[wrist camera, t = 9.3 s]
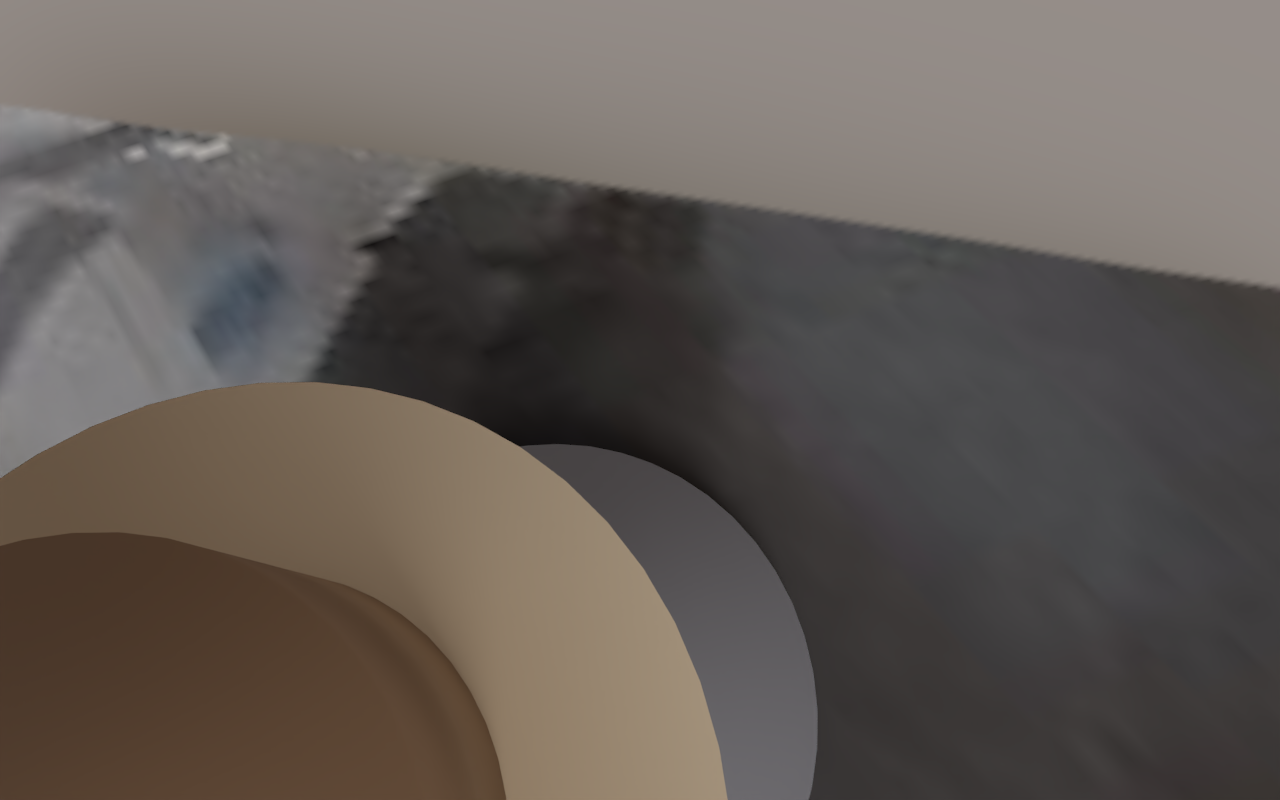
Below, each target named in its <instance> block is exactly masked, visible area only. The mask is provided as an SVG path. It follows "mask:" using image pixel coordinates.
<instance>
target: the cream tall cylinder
mask: <svg viewBox="0 0 1280 800" xmlns="http://www.w3.org/2000/svg"><path fill="white" fill-rule="evenodd" d="M0 800H728V799H727V793H726V787H725V780H724V774H723V768H722V762H721V755H720V749H719V745H718V742H717V738H716V735H715V731H714V728H713V724H712V721H711V717H710V714H709V710H708V707H707V703H706V700H705V696H704V693H703V689H702V686H701V682H700V680H699V677H698V675H697V673H696V670H695V668H694V666H693V663H692V661H691V659H690V656H689V654H688V652H687V649H686V647H685V645H684V642H683V640H682V638H681V635H680V633H679V631H678V628H677V626H676V623H675V621H674V620H673V618H672V616H671V615H670V613H669V611H668V610H667V608H666V606H665V604H664V603H663V601H662V599H661V598H660V596H659V594H658V592H657V591H656V589H655V587H654V586H653V584H652V582H651V580H650V579H649V577H648V575H647V574H646V572H645V570H644V569H643V567H642V566H641V565H640V563H639V562H638V561H637V560H636V558H635V557H634V556H633V554H632V553H631V552H630V551H629V549H628V548H627V547H626V545H625V544H624V543H623V542H622V540H621V539H620V538H619V536H618V535H617V534H616V532H615V531H614V530H613V529H612V527H611V526H610V525H609V523H608V522H607V521H606V520H605V519H604V518H603V517H602V516H601V515H600V514H599V513H598V512H597V511H596V510H595V509H594V508H593V507H592V506H591V505H590V504H589V503H588V502H587V501H586V500H585V499H584V498H583V497H582V496H581V495H580V494H579V493H577V492H576V491H575V490H574V489H573V488H572V487H571V486H570V485H569V484H568V483H567V482H566V481H565V480H564V479H562V478H561V477H560V476H558V475H557V474H556V473H554V472H553V471H552V470H550V469H549V468H548V467H546V466H545V465H544V464H542V463H541V462H540V461H538V460H537V459H536V458H534V457H533V456H532V455H530V454H529V453H528V452H526V451H525V450H524V449H522V448H521V447H519V446H517V445H515V444H514V443H512V442H510V441H508V440H507V439H505V438H503V437H501V436H499V435H498V434H496V433H494V432H492V431H490V430H489V429H487V428H485V427H483V426H481V425H480V424H478V423H476V422H474V421H472V420H469V419H467V418H464V417H462V416H459V415H457V414H454V413H452V412H449V411H447V410H444V409H441V408H439V407H436V406H434V405H431V404H429V403H426V402H424V401H420V400H416V399H412V398H408V397H404V396H400V395H396V394H392V393H387V392H383V391H379V390H375V389H371V388H363V387H355V386H346V385H337V384H328V383H319V382H290V383H256V384H249V385H241V386H234V387H227V388H219V389H212V390H205V391H201V392H197V393H193V394H189V395H185V396H181V397H177V398H173V399H170V400H166V401H162V402H158V403H154V404H150V405H147V406H144V407H142V408H139V409H136V410H134V411H131V412H129V413H126V414H123V415H121V416H118V417H115V418H113V419H110V420H108V421H105V422H102V423H100V424H97V425H94V426H92V427H90V428H88V429H86V430H84V431H82V432H80V433H78V434H76V435H74V436H72V437H70V438H68V439H66V440H65V441H63V442H61V443H59V444H57V445H55V446H53V447H51V448H49V449H47V450H45V451H43V452H41V453H39V454H37V455H36V456H34V457H33V458H31V459H30V460H28V461H26V462H25V463H23V464H22V465H20V466H19V467H17V468H16V469H14V470H13V471H11V472H10V473H8V474H6V475H5V476H3V477H2V478H0Z"/></svg>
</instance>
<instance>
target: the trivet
mask: <svg viewBox="0 0 1280 800" xmlns="http://www.w3.org/2000/svg"><path fill="white" fill-rule="evenodd" d="M521 448H522V449H524V450H525V451H526V452H528V453H529V454H530V455H532V456H533V457H534V458H536V459H537V460H538V461H540V462H541V463H542V464H544V465H545V466H546V467H548V468H549V469H550V470H552V471H553V472H554V473H556V474H557V475H558V476H560V477H561V478H562V479H564V480H565V481H566V482H567V483H568V484H569V485H570V486H571V487H572V488H573V489H574V490H575V491H576V492H577V493H579V494H580V495H581V496H582V497H583V498H584V499H585V500H586V501H587V502H588V503H589V504H590V505H591V506H592V507H593V508H594V509H595V510H596V511H597V512H598V513H599V514H600V515H601V516H602V517H603V518H604V519H605V520H606V521H607V522H608V523H609V525H610V526H611V527H612V529H613V530H614V531H615V532H616V534H617V535H618V536H619V538H620V539H621V540H622V542H623V543H624V544H625V545H626V547H627V548H628V549H629V551H630V552H631V553H632V554H633V556H634V557H635V558H636V560H637V561H638V562H639V563H640V565H641V566H642V567H643V569H644V570H645V572H646V574H647V575H648V577H649V579H650V580H651V582H652V584H653V586H654V587H655V589H656V591H657V592H658V594H659V596H660V598H661V599H662V601H663V603H664V604H665V606H666V608H667V610H668V611H669V613H670V615H671V616H672V618H673V620H674V621H675V623H676V626H677V628H678V631H679V633H680V635H681V638H682V640H683V642H684V645H685V647H686V649H687V652H688V654H689V656H690V659H691V661H692V663H693V666H694V668H695V670H696V673H697V675H698V677H699V680H700V682H701V686H702V689H703V693H704V696H705V700H706V703H707V707H708V710H709V714H710V717H711V721H712V724H713V728H714V731H715V735H716V738H717V742H718V745H719V749H720V755H721V762H722V768H723V774H724V780H725V787H726V793H727V799H728V800H809V796H810V793H811V789H812V783H813V776H814V768H815V761H816V753H817V711H818V710H817V701H816V692H815V683H814V674H813V669H812V665H811V661H810V657H809V652H808V648H807V644H806V640H805V636H804V633H803V631H802V628H801V625H800V623H799V620H798V617H797V615H796V612H795V609H794V606H793V604H792V602H791V600H790V598H789V596H788V594H787V592H786V590H785V588H784V586H783V584H782V582H781V580H780V579H779V577H778V575H777V573H776V571H775V569H774V568H773V567H772V565H771V564H770V562H769V561H768V559H767V558H766V556H765V555H764V554H763V552H762V551H761V549H760V548H759V546H758V545H757V543H756V542H755V541H754V540H753V539H752V538H751V537H750V535H749V534H748V533H747V532H746V531H745V530H744V529H743V528H742V527H741V525H740V524H739V523H738V522H737V521H736V520H735V519H734V518H733V517H732V516H731V515H730V514H729V513H728V512H726V511H725V510H724V509H723V508H722V507H721V506H720V505H718V504H717V503H716V502H715V501H714V500H713V499H711V498H710V497H709V496H708V495H706V494H705V493H703V492H702V491H700V490H699V489H697V488H696V487H694V486H693V485H691V484H690V483H688V482H687V481H685V480H684V479H682V478H681V477H679V476H677V475H675V474H673V473H671V472H669V471H667V470H665V469H663V468H661V467H659V466H657V465H654V464H652V463H650V462H647V461H644V460H641V459H638V458H635V457H632V456H629V455H626V454H624V453H620V452H615V451H611V450H606V449H601V448H596V447H591V446H579V445H565V444H547V445H529V446H521Z"/></svg>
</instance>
